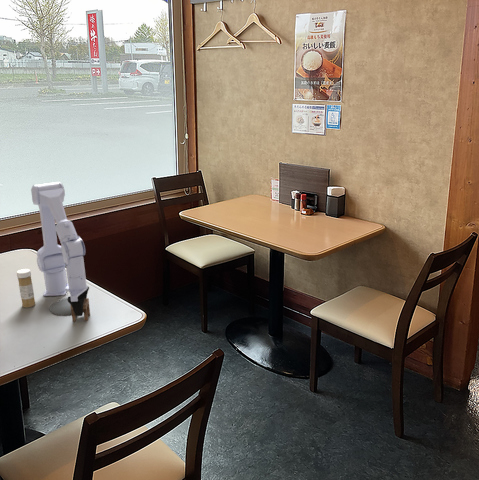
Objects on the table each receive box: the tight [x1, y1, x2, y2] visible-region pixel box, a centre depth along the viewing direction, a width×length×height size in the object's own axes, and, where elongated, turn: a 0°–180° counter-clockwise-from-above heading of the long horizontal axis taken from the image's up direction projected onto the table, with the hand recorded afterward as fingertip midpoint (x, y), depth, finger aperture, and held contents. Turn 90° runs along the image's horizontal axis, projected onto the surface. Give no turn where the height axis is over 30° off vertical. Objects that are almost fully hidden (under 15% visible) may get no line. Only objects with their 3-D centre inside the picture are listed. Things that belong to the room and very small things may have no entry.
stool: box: [70, 297, 91, 322], centre depth 172 cm, size 5×5×6 cm
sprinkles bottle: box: [16, 268, 36, 308], centre depth 181 cm, size 5×5×14 cm
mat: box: [49, 297, 72, 316], centre depth 181 cm, size 13×13×1 cm
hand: (80, 311), depth 173 cm, fingers closed on stool, 5 cm apart
